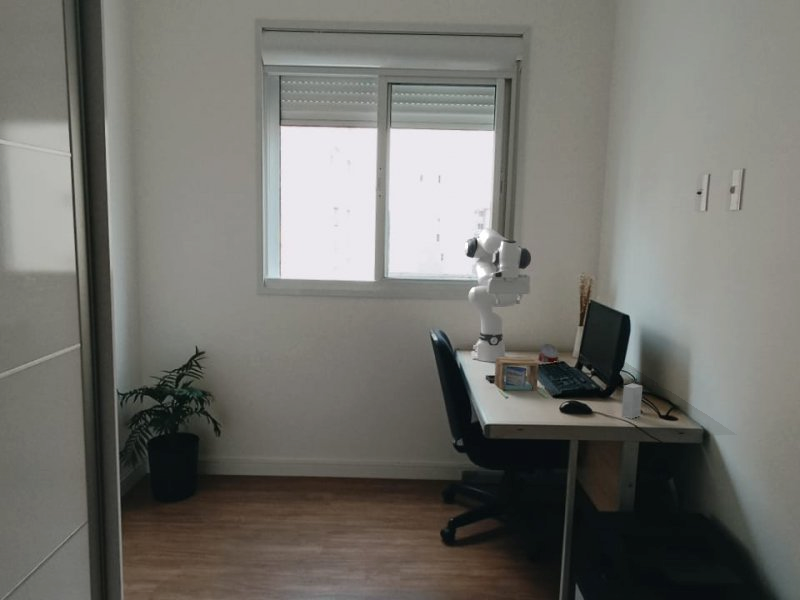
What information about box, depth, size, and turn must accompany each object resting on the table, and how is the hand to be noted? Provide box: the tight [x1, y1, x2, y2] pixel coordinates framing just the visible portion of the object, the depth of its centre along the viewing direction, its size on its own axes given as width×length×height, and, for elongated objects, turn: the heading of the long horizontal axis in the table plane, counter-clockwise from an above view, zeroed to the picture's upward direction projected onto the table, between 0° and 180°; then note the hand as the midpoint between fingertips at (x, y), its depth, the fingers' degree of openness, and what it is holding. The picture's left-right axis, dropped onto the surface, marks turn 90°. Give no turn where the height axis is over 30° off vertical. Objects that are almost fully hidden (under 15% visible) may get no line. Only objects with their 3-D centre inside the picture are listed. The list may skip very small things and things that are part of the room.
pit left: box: [485, 374, 495, 384], centre depth 246 cm, size 7×5×2 cm
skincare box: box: [621, 383, 643, 419], centre depth 202 cm, size 6×4×12 cm
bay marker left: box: [498, 388, 509, 399], centre depth 226 cm, size 10×1×1 cm, turn 6°
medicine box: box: [505, 366, 527, 386], centre depth 236 cm, size 8×4×9 cm, turn 62°
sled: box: [504, 366, 533, 391], centre depth 243 cm, size 22×12×6 cm, turn 6°
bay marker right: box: [537, 388, 549, 399], centre depth 228 cm, size 10×1×1 cm, turn 7°
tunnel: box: [493, 356, 539, 392], centre depth 236 cm, size 10×16×12 cm, turn 96°
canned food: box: [538, 343, 560, 363], centre depth 287 cm, size 11×10×10 cm
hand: (508, 303), depth 255 cm, fingers open, 8 cm apart
